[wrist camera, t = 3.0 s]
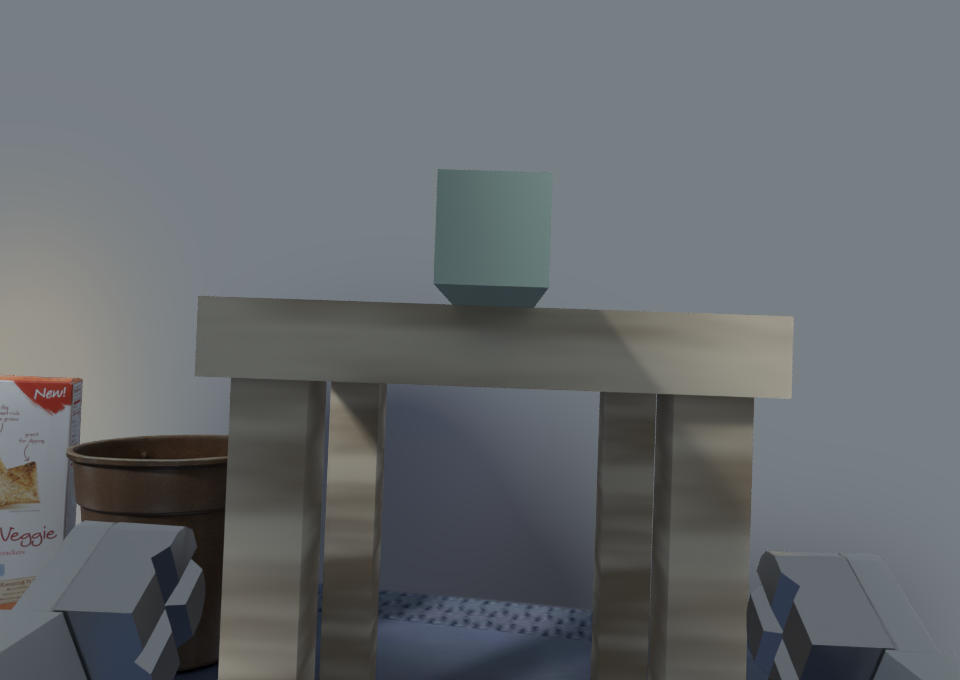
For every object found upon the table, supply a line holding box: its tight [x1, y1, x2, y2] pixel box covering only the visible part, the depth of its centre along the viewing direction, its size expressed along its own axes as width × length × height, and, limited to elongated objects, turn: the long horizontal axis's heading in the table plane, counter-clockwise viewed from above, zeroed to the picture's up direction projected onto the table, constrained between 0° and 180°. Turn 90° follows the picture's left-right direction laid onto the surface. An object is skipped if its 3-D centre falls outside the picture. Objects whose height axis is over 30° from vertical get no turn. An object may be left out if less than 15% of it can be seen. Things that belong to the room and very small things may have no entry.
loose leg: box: [434, 169, 553, 308], centre depth 30 cm, size 22×3×3 cm, turn 179°
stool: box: [195, 296, 794, 680], centre depth 38 cm, size 22×22×26 cm
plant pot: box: [66, 435, 229, 671], centre depth 59 cm, size 16×16×16 cm
